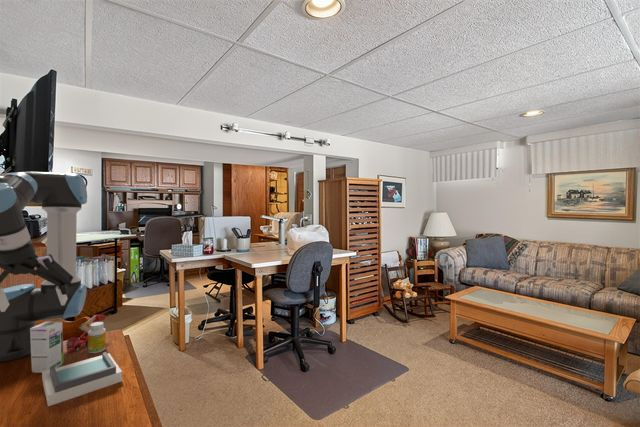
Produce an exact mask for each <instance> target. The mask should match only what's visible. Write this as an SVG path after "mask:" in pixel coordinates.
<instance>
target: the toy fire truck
mask: <svg viewBox="0 0 640 427" xmlns="http://www.w3.org/2000/svg"><path fill="white" fill-rule="evenodd" d="M104 320H106V315H105V314H99V313H98V314H92V315H91V318H89V319H88V320H86V321H85V322H84V323H81V325H80V326H79V327H78V329H79V330H80V331H82V332H83V333H82V335H80V336H79V337H74V336H71V337H70V338H68V339H67V342H66V351H67V352H69V353H71V352H75V351H76V352H78V351H79V350H80V349H82V348H84V347H86V346H88V332H89V331H90V330H91V329H90V326H88V325H89V324H92V323H93V322H103V321H104Z"/></svg>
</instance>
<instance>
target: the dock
mask: <svg viewBox="0 0 640 427" xmlns="http://www.w3.org/2000/svg"><path fill="white" fill-rule="evenodd" d="M41 378H42V379H41V380H42V388H43V390H44V395H45V399H46V404H47V407H50V406H54V405H57V404H60V403H63V402H65V401H69V400H71V399H74V398H77V397H80V396H83V395H86V394H88V393H89V394H90V393H92V392H95V391H98V390H100V389H103V388H106V387H110V386H113V385H115V384H118V383H121V382H123V370H121V368H120V366H119V365H118V363H117V362H116V361H115V359H114V358H113V356H112V355H111V353H109V352H108V353H107V351H104V352H102V353H101V355H99V356H95V357H90V358H87V359H83V360H80V361H77V362H73V363H70V364H66V365H61V366H59V367H57V368H55V367H54V366H53V367H50V370H47V371H44V372H42V373H41Z"/></svg>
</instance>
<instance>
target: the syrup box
mask: <svg viewBox="0 0 640 427" xmlns="http://www.w3.org/2000/svg"><path fill="white" fill-rule="evenodd" d="M63 328H64V327H63V321H62V320H61V321H60V320H45V321H43V322H41V323H40V324H37V325H35V327H32V328H30V338H31V354H30V359H31V361H30V362H31V373H38V374H40V373H41V374H42V372H44V371H47V370H50V367H53V366H54V367H55V368H58V367H61V366H63V365H64V364H65V361H64V359H65V358H64V334H63V333H64V332H63Z"/></svg>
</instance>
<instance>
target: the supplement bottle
mask: <svg viewBox="0 0 640 427" xmlns="http://www.w3.org/2000/svg"><path fill="white" fill-rule="evenodd" d="M89 329H90V331H89V332H88V345H87V352H88V354H98V353H101V352H103V351H105V350H106V348H107V330H106V328H105V327H104V322H103V321H100V322H96V321H94V322H91V323H90V325H89Z"/></svg>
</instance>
